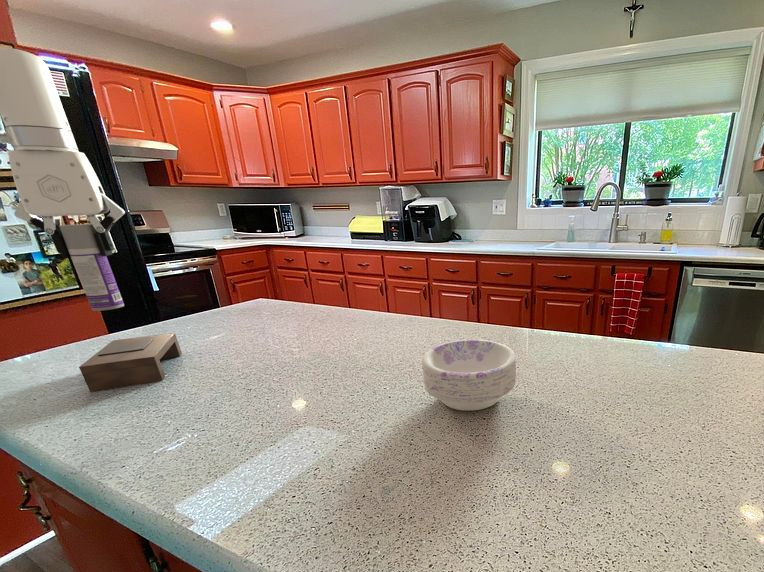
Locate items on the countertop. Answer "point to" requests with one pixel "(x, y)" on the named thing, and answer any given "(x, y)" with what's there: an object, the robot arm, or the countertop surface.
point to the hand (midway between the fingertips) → (88, 255)
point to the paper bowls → (469, 373)
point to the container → (92, 267)
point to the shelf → (129, 362)
